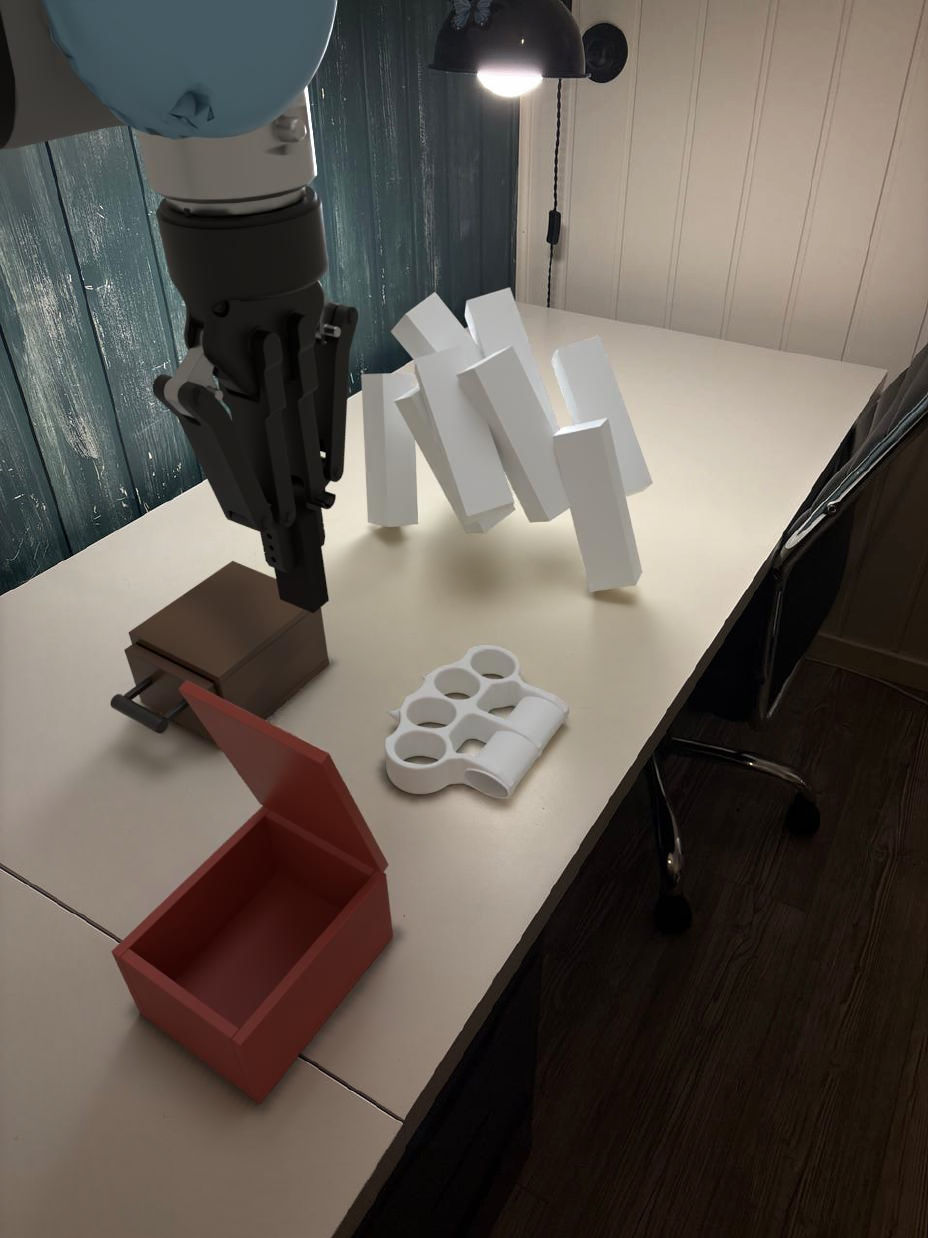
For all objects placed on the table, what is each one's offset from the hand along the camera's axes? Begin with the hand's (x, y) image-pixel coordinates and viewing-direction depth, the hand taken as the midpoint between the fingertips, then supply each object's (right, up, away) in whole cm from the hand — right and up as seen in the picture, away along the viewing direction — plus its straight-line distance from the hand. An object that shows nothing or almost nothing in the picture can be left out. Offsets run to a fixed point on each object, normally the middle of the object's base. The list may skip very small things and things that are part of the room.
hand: (304, 599), depth 57 cm
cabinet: (-12, -7, +35) cm, 38 cm away
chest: (-4, -27, +10) cm, 29 cm away
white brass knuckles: (+10, -12, +29) cm, 33 cm away
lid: (-2, -12, +4) cm, 13 cm away
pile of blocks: (+14, +10, +56) cm, 59 cm away
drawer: (-15, -9, +32) cm, 36 cm away
